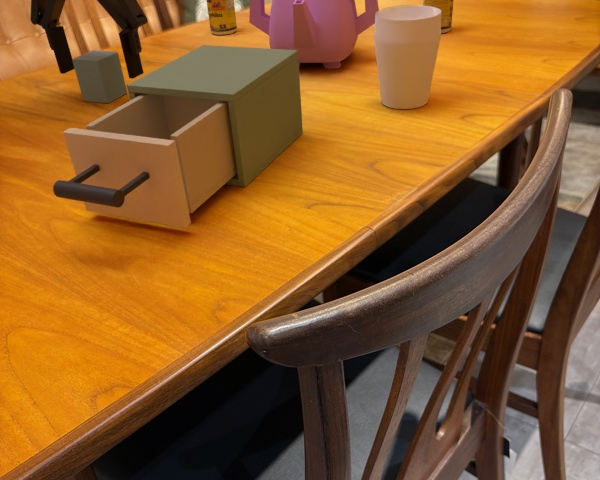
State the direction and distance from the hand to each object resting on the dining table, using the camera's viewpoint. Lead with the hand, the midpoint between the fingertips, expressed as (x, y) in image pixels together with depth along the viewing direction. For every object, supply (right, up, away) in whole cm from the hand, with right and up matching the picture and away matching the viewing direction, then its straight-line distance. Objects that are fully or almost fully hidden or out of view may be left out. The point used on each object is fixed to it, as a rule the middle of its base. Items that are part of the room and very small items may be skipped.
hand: (101, 73), depth 97 cm
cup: (+47, -7, -8) cm, 48 cm away
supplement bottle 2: (+58, +17, +23) cm, 64 cm away
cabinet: (+22, -17, -19) cm, 34 cm away
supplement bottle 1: (+15, +20, +32) cm, 41 cm away
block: (0, -3, +2) cm, 4 cm away
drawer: (+16, -25, -30) cm, 42 cm away
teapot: (+34, +7, +12) cm, 37 cm away
